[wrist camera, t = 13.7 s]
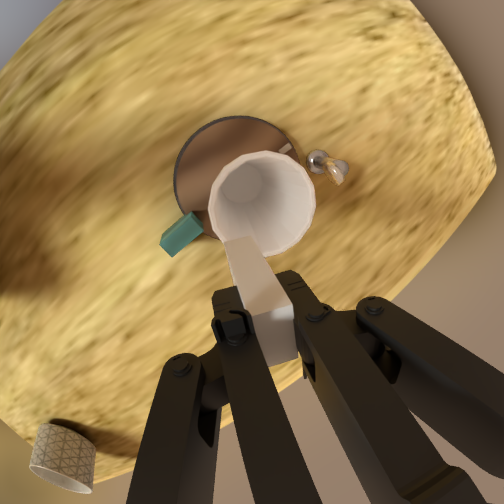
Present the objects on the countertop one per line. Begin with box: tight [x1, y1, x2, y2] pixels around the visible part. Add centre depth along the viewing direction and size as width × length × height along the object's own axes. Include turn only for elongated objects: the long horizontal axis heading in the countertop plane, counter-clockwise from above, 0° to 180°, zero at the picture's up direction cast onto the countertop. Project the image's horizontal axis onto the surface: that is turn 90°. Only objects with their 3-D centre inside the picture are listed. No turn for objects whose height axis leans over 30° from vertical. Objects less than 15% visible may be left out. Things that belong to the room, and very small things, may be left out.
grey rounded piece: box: [306, 150, 349, 186], centre depth 35 cm, size 4×4×9 cm
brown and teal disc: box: [159, 119, 300, 257], centre depth 36 cm, size 17×22×4 cm
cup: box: [208, 150, 316, 258], centre depth 30 cm, size 10×10×13 cm
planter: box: [29, 423, 96, 494], centre depth 47 cm, size 19×19×18 cm
